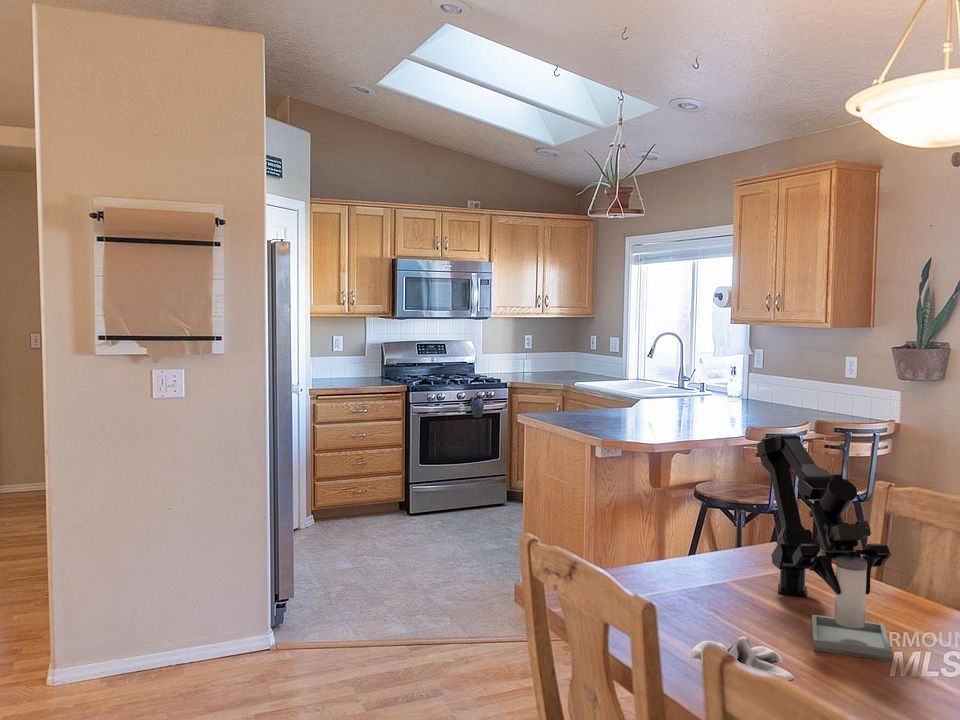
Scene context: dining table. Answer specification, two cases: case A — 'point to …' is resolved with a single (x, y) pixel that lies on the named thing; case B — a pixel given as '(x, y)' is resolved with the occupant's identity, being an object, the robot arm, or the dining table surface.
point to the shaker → (851, 591)
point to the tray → (851, 639)
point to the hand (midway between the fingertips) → (853, 593)
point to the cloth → (748, 655)
